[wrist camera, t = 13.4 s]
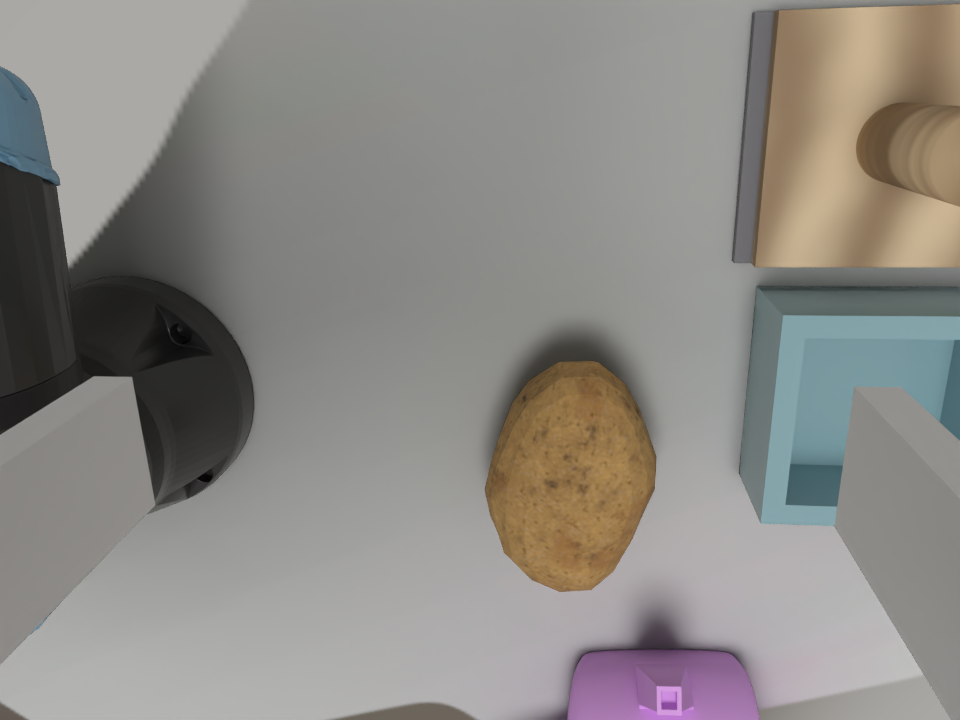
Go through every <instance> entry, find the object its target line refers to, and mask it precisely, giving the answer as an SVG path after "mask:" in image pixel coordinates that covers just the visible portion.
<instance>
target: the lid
mask: <svg viewBox="0 0 960 720" xmlns="http://www.w3.org/2000/svg"><path fill="white" fill-rule="evenodd" d="M751 264H752V265H753V266H754V267H960V4H947V5H917V6H888V7H858V8H828V9H799V10H778V11H775V12H774V22H773V33H772V43H771V54H770V65H769V76H768V87H767V98H766V109H765V119H764V130H763V141H762V152H761V163H760V174H759V185H758V195H757V206H756V217H755V228H754V239H753V250H752V261H751Z"/></svg>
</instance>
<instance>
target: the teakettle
mask: <svg viewBox="0 0 960 720" xmlns="http://www.w3.org/2000/svg"><path fill="white" fill-rule="evenodd" d="M567 720H760V718H759V713H758V708H757V704H756V699H755V695H754V692H753V688H752V685H751V682H750V680H749V677H748V675H747V673H746V671H745V670H744V668H743V667H742V666H741V664H740V663H739V662H738V661H737V660H736V658H735V657H734V656H733V655H731V654H730V653H727V652H722V651H708V650H677V649H643V650H610V651H596V652H590V653H586V654H585V655H583V657H582V658H581V660H580V661H579V663H578V665H577V668H576V670H575V673H574V676H573V680H572V685H571V691H570V698H569V707H568V718H567Z"/></svg>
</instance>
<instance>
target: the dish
mask: <svg viewBox="0 0 960 720" xmlns="http://www.w3.org/2000/svg"><path fill="white" fill-rule="evenodd" d="M854 386H855V387H901V388H902V389H904V390H905V391H906V392H907V393H908V394H909V395H910V396H911V397H912V398H913V399H915V400H916V401H917V402H918V403H919V404H920V405H921V406H922V407H923V408H924V409H925V410H927V411H928V412H929V413H930V414H931V415H932V416H933V417H934V418H935V419H936V420H938V421H939V422H940V423H941V424H942V425H943V426H944V427H945V428H946V429H947V430H948V431H950V432H951V433H952V434H953V435H954V436H955V437H956V438H957V439H958V440H959V441H960V287H793V286H757V288H756V299H755V309H754V320H753V330H752V341H751V351H750V362H749V372H748V383H747V393H746V404H745V414H744V425H743V435H742V446H741V456H740V467H739V474H740V477H741V479H742V481H743V484H744V486H745V488H746V491H747V493H748V495H749V498H750V500H751V502H752V504H753V507H754V509H755V511H756V514H757V516H758V518H759V521H760V523H763V524H792V525H821V526H835V519H836V512H837V505H838V497H839V490H840V483H841V476H842V469H843V462H844V455H845V448H846V441H847V434H848V427H849V420H850V413H851V406H852V399H853V391H854Z"/></svg>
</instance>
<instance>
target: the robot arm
mask: <svg viewBox="0 0 960 720" xmlns="http://www.w3.org/2000/svg"><path fill="white" fill-rule="evenodd" d="M58 185H60V179H59V176H58V175H57V173H56V172H55V171H54V170H53V169H52V166H51V161H50V156H49V151H48V146H47V141H46V137H45V132H44V127H43V123H42V117H41V112H40V108H39V105H38V102H37V100H36V98H35V96H34V94H33V93H32V91H31V90H30V88H29V87H28V86H27V85H26V84H25V83H24V82H23V81H22V80H21V79H20V78H19V77H17V76H16V75H15V74H13V73H11V72H10V71H8V70H6V69H4V68H2V67H0V665H1V664H2V663H3V661H4V660H5V659H6V658H7V657H8V656H9V655H10V654H11V653H12V652H13V651H14V650H15V649H16V648H17V647H18V646H19V645H20V644H21V643H22V642H23V641H24V640H25V639H26V638H27V637H28V636H29V635H30V634H32V633H33V632H34V631H35V630H36V629H38V628H39V627H40V626H41V625H42V624H43V623H44V621H45V620H46V619H47V617H48V616H49V615H50V614H51V613H52V611H53V610H54V609H55V608H56V607H57V606H58V605H59V604H60V603H61V602H62V601H63V600H64V599H65V598H66V597H67V596H68V595H69V594H70V593H71V591H72V590H73V589H74V588H75V587H76V586H77V585H78V584H79V583H80V582H81V581H82V580H83V579H84V578H85V577H86V576H87V575H88V574H89V573H90V572H91V571H92V570H93V569H94V568H95V567H96V566H97V565H98V564H99V563H100V562H101V561H102V560H103V559H104V558H105V556H106V555H107V554H108V553H109V552H110V551H111V550H112V549H113V548H114V547H115V546H116V545H117V544H118V543H119V542H120V541H121V540H122V539H123V538H124V537H125V536H126V535H127V534H128V533H129V532H130V531H131V530H132V529H133V528H134V527H135V526H136V525H137V524H138V523H139V521H140V520H141V519H142V518H143V517H144V516H145V515H147V514H149V513H152V512H154V511H157V510H160V509H162V508H165V507H168V506H170V505H173V504H176V503H178V502H181V501H183V500H186V499H188V498H190V497H192V496H194V495H196V494H198V493H200V492H201V491H203V490H204V489H206V488H207V487H208V486H210V485H211V484H212V483H213V482H215V481H216V480H217V479H218V478H219V477H220V476H221V475H222V474H223V472H224V471H225V470H226V469H227V468H228V467H229V466H230V465H231V463H232V462H233V461H234V460H235V459H236V457H237V456H238V455H239V453H240V452H241V450H242V448H243V446H244V444H245V442H246V440H247V438H248V435H249V432H250V428H251V424H252V418H253V390H252V384H251V380H250V376H249V372H248V369H247V366H246V364H245V361H244V359H243V357H242V355H241V353H240V350H239V349H238V347H237V345H236V343H235V342H234V340H233V339H232V337H231V336H230V334H229V333H228V332H227V331H226V329H225V328H224V327H223V326H222V324H221V323H220V322H219V321H218V320H217V319H216V318H215V317H214V316H213V315H212V314H211V313H210V312H209V311H208V310H206V309H205V308H204V307H203V306H201V305H200V304H199V303H198V302H196V301H195V300H193V299H192V298H190V297H189V296H187V295H185V294H183V293H182V292H180V291H178V290H176V289H174V288H171V287H169V286H167V285H164V284H161V283H158V282H155V281H151V280H147V279H142V278H135V277H108V278H102V279H97V280H94V281H90V282H88V283H85V284H82V285H80V286H78V287H75V288H73V289H71V286H70V279H69V272H68V265H67V258H66V251H65V244H64V236H63V229H62V223H61V215H60V208H59V202H58V194H57V187H56V186H58ZM835 528H836V530H837V531H838V533H839V535H840V536H841V538H842V540H843V541H844V543H845V545H846V546H847V548H848V550H849V551H850V553H851V555H852V556H853V558H854V560H855V561H856V563H857V565H858V566H859V568H860V570H861V571H862V573H863V575H864V576H865V578H866V580H867V581H868V583H869V585H870V586H871V588H872V590H873V591H874V593H875V595H876V596H877V598H878V599H879V601H880V603H881V604H882V606H883V608H884V609H885V611H886V613H887V614H888V616H889V618H890V619H891V621H892V623H893V624H894V626H895V628H896V629H897V631H898V633H899V634H900V636H901V638H902V639H903V641H904V643H905V644H906V646H907V648H908V649H909V651H910V653H911V654H912V656H913V658H914V659H915V661H916V663H917V664H918V666H919V668H920V669H921V671H922V673H923V674H924V676H925V677H926V679H927V681H928V682H929V684H930V686H931V687H932V689H933V691H934V692H935V694H936V696H937V697H938V699H939V701H940V702H941V704H942V706H943V707H944V709H945V710H946V712H947V714H948V715H949V717H950V719H951V720H960V441H959V440H958V439H957V438H956V437H955V436H954V435H953V434H952V433H951V432H950V431H948V430H947V429H946V428H945V427H944V426H943V425H942V424H941V423H940V422H939V421H938V420H936V419H935V418H934V417H933V416H932V415H931V414H930V413H929V412H928V411H927V410H925V409H924V408H923V407H922V406H921V405H920V404H919V403H918V402H917V401H916V400H915V399H913V398H912V397H911V396H910V395H909V394H908V393H907V392H906V391H905V390H904V389H902V388H901V387H855V386H854V391H853V399H852V406H851V413H850V420H849V427H848V434H847V441H846V448H845V455H844V462H843V469H842V476H841V483H840V490H839V497H838V505H837V512H836V519H835Z"/></svg>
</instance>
